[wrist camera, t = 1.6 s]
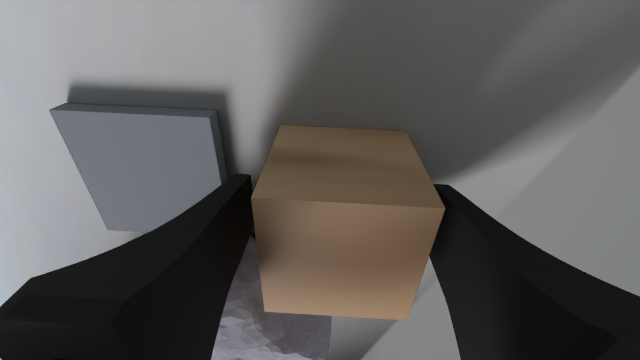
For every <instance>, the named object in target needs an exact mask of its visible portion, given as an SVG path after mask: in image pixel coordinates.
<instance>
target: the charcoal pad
mask: <svg viewBox="0 0 640 360" xmlns="http://www.w3.org/2000/svg"><path fill="white" fill-rule="evenodd" d="M49 111H50V113H51V115H52V117H53V119H54V121H55V123H56V126H57V128H58V130H59V132H60V134H61V136H62V138H63V140H64V142H65V144H66V146H67V148H68V150H69V152H70V154H71V156H72V158H73V160H74V162H75V164H76V166H77V168H78V170H79V172H80V174H81V176H82V178H83V181H84V183H85V185H86V187H87V189H88V191H89V193H90V195H91V197H92V199H93V201H94V203H95V205H96V207H97V209H98V211H99V213H100V215H101V217H102V219H103V221H104V223H105V225H106V227H107V229H108V230H117V231H135V232H150V231H152V230H154V229H156V228H158V227H159V226H161V225H163V224H165V223H167V222H168V221H170V220H172V219H173V218H175V217H177V216H178V215H180V214H181V213H183V212H184V211H186V210H187V209H189V208H190V207H192V206H193V205H195V204H196V203H197V202H199V201H200V200H202V199H203V198H204V197H206V196H207V195H208V194H210V193H211V192H212V191H214V190H215V189H216V188H218V187H219V186H220V185H221V184H223V183H224V182H225V181H227V180H228V177H227V171H226V165H225V159H224V153H223V147H222V141H221V134H220V128H219V122H218V116H217V110H202V109H181V108H160V107H139V106H118V105H97V104H76V103H64V104H62V105H60V106H57V107H55V108H52V109H50V110H49Z"/></svg>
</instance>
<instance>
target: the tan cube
mask: <svg viewBox="0 0 640 360" xmlns="http://www.w3.org/2000/svg"><path fill="white" fill-rule="evenodd" d="M251 202H252V210H253V219H254V227H255V236H256V244H257V252H258V261H259V269H260V278H261V286H262V294H263V303H264V311H265V312H278V313H294V314H310V315H327V316H343V317H359V318H376V319H392V320H407V318H408V315H409V313H410V310H411V307H412V304H413V301H414V298H415V295H416V292H417V289H418V286H419V284H420V281H421V278H422V275H423V272H424V269H425V266H426V263H427V260H428V257H429V254H430V252H431V249H432V246H433V243H434V240H435V237H436V234H437V231H438V228H439V225H440V223H441V220H442V217H443V214H444V211H445V207H444V205H443V203H442V201H441V199H440V197H439V195H438V193H437V191H436V189H435V187H434V185H433V183H432V181H431V179H430V177H429V175H428V173H427V171H426V169H425V167H424V165H423V163H422V161H421V159H420V157H419V155H418V153H417V151H416V150H415V148H414V146H413V144H412V142H411V140H410V138H409V136H408V134H407V132H406V131H399V130H378V129H357V128H337V127H316V126H295V125H281V126H280V128H279V131H278V133H277V135H276V138H275V140H274V143H273V145H272V148H271V150H270V153H269V155H268V157H267V160H266V162H265V165H264V167H263V170H262V172H261V175H260V177H259V179H258V182H257V184H256V187H255V189H254V192H253V194H252V197H251Z"/></svg>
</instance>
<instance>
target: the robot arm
mask: <svg viewBox="0 0 640 360" xmlns="http://www.w3.org/2000/svg"><path fill="white" fill-rule="evenodd" d="M433 185H434V187H435V189H436V191H437V193H438V195H439V197H440V199H441V201H442V203H443V205H444V207H445V211H444V214H443V217H442V220H441V223H440V225H439V228H438V231H437V234H436V237H435V240H434V243H433V246H432V249H431V252H430V254H429V256H430V259H431V262H432V264H433V267H434V270H435V272H436V275H437V278H438V280H439V283H440V286H441V288H442V291H443V293H444V296H445V299H446V302H447V305H448V309H449V312H450V316H451V320H452V324H453V328H454V332H455V335H456V340H457V344H458V348H459V353H460V357H461V360H640V297H639V296H637V295H634V294H632V293H630V292H627V291H625V290H623V289H620V288H618V287H616V286H613V285H611V284H609V283H606V282H604V281H602V280H600V279H598V278H596V277H594V276H591V275H589V274H587V273H585V272H583V271H581V270H579V269H577V268H575V267H573V266H571V265H569V264H567V263H565V262H563V261H561V260H559V259H558V258H556V257H554V256H552V255H550V254H548V253H546V252H545V251H543V250H541V249H540V248H538V247H536V246H535V245H533V244H531V243H529V242H528V241H526V240H525V239H523V238H521V237H520V236H518V235H517V234H515V233H514V232H512V231H511V230H509V229H508V228H506V227H505V226H503V225H502V224H500V223H499V222H498V221H496V220H495V219H494V218H492V217H491V216H489V215H488V214H487V213H485V212H484V211H483V210H481V209H480V208H479V207H478V206H476V205H475V204H474V203H472V202H471V201H470V200H468V199H467V198H466V197H465V196H463V195H462V194H461V193H459V192H458V191H457V190H455V189H454V188H452V187H451V186H449V185H443V184H433ZM252 194H253V190H252V181H251V175H248V174H235V175H233V176H232V177H231V178H229V179H228V180H227V181H225V182H224V183H223V184H221V185H220V186H219V187H218V188H216V189H215V190H214V191H212V192H211V193H210V194H208V195H207V196H206V197H204V198H203V199H202V200H200V201H199V202H197V203H196V204H195V205H193V206H192V207H190V208H189V209H187V210H186V211H184V212H183V213H181V214H180V215H178V216H177V217H175V218H173V219H172V220H170V221H168V222H167V223H165V224H163V225H161V226H159V227H158V228H156V229H154V230H152V231H150V232H148V233H146V234H144V235H142V236H140V237H138V238H136V239H134V240H132V241H129V242H127V243H125V244H123V245H121V246H119V247H116V248H114V249H112V250H109V251H107V252H104V253H102V254H99V255H97V256H94V257H92V258H89V259H86V260H84V261H81V262H78V263H76V264H73V265H70V266H67V267H64V268H61V269H58V270H55V271H52V272H49V273H46V274H43V275H39V276H36V277H33V278H30V279H29V280H28V281H27V282H26V283H25V284H24V285H23V286H22V287H21V288H20V289H19V290H18V291H16V292H15V293H14V294H13V295H12V296H11V297H10V298H9V299H8V300H7V301H6V302H5V303H4V304H3V305H2V306H1V307H0V358H1V359H2V360H211V357H212V353H213V349H214V345H215V341H216V337H217V333H218V329H219V325H220V321H221V317H222V314H223V310H224V307H225V303H226V299H227V296H228V293H229V290H230V287H231V284H232V281H233V279H234V276H235V274H236V271H237V269H238V266H239V263H240V261H241V258H242V256H243V253H244V251H245V248H246V246H247V243H248V240H249V238H250V235H251V231H252V227H253V222H254V219H253V210H252V202H251V197H252Z"/></svg>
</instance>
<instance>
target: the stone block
mask: <svg viewBox="0 0 640 360" xmlns="http://www.w3.org/2000/svg"><path fill="white" fill-rule="evenodd" d="M330 336H331V316H327V315H310V314H294V313H278V312H265V311H264V303H263V294H262V286H261V278H260V269H259V261H258V252H257V244H256V240H255V239H254V238H253V237H252V236H251V235H250V238H249V240H248V243H247V246H246V248H245V251H244V253H243V256H242V258H241V261H240V263H239V266H238V269H237V271H236V274H235V276H234V279H233V281H232V284H231V287H230V290H229V293H228V296H227V299H226V303H225V307H224V310H223V314H222V317H221V321H220V325H219V329H218V333H217V337H216V341H215V345H214V349H213V353H212V357H211V360H322V359H325V358H327V353H328V348H329V340H330Z"/></svg>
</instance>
